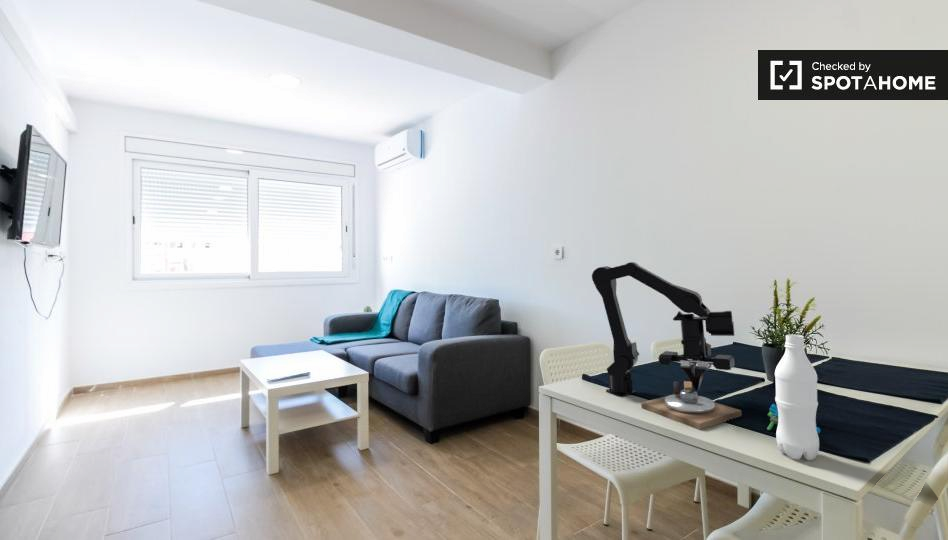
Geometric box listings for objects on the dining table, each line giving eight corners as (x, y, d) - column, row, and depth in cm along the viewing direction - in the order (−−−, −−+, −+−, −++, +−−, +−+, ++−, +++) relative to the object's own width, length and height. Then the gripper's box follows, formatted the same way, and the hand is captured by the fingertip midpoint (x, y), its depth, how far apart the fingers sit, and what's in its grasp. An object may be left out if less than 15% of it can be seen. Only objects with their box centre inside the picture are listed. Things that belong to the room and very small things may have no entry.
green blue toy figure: (832, 435, 96) (801, 406, 96) (820, 457, 95) (787, 428, 94) (787, 423, 107) (759, 397, 106) (775, 443, 106) (746, 417, 105)
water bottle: (821, 466, 87) (818, 340, 86) (777, 458, 90) (774, 337, 90) (817, 451, 93) (814, 333, 92) (775, 445, 97) (772, 331, 96)
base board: (641, 407, 123) (640, 388, 123) (681, 397, 130) (680, 378, 129) (699, 429, 107) (698, 407, 106) (741, 416, 113) (740, 395, 113)
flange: (716, 415, 110) (716, 401, 110) (664, 411, 115) (664, 397, 115) (711, 394, 126) (711, 381, 125) (665, 391, 131) (665, 378, 130)
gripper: (736, 331, 125) (741, 386, 125) (668, 329, 137) (673, 378, 138) (727, 339, 117) (732, 397, 117) (655, 336, 129) (660, 388, 130)
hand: (697, 389), depth 125 cm, fingers closed
